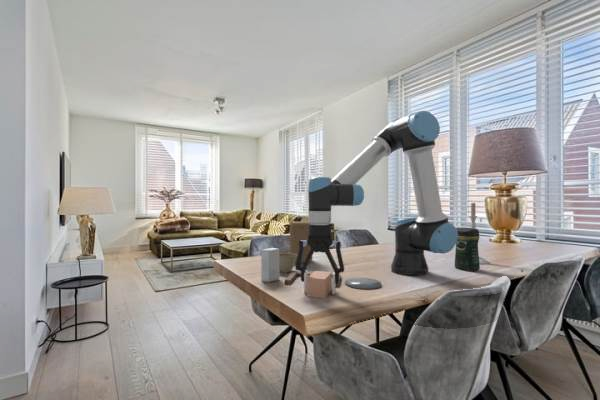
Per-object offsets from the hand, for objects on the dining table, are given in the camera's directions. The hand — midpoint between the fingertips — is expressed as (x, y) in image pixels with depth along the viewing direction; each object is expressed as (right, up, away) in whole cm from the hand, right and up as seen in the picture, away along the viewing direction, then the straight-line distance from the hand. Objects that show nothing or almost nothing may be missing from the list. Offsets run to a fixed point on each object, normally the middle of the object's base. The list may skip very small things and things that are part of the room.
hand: (319, 292), depth 100 cm
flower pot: (-13, -1, +32) cm, 35 cm away
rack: (-1, -1, +16) cm, 16 cm away
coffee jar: (+68, -1, +35) cm, 77 cm away
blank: (0, -1, +1) cm, 1 cm away
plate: (+16, 0, +11) cm, 20 cm away
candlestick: (+81, -1, +52) cm, 96 cm away
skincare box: (-18, -1, +17) cm, 25 cm away
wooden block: (-6, -1, +52) cm, 53 cm away
